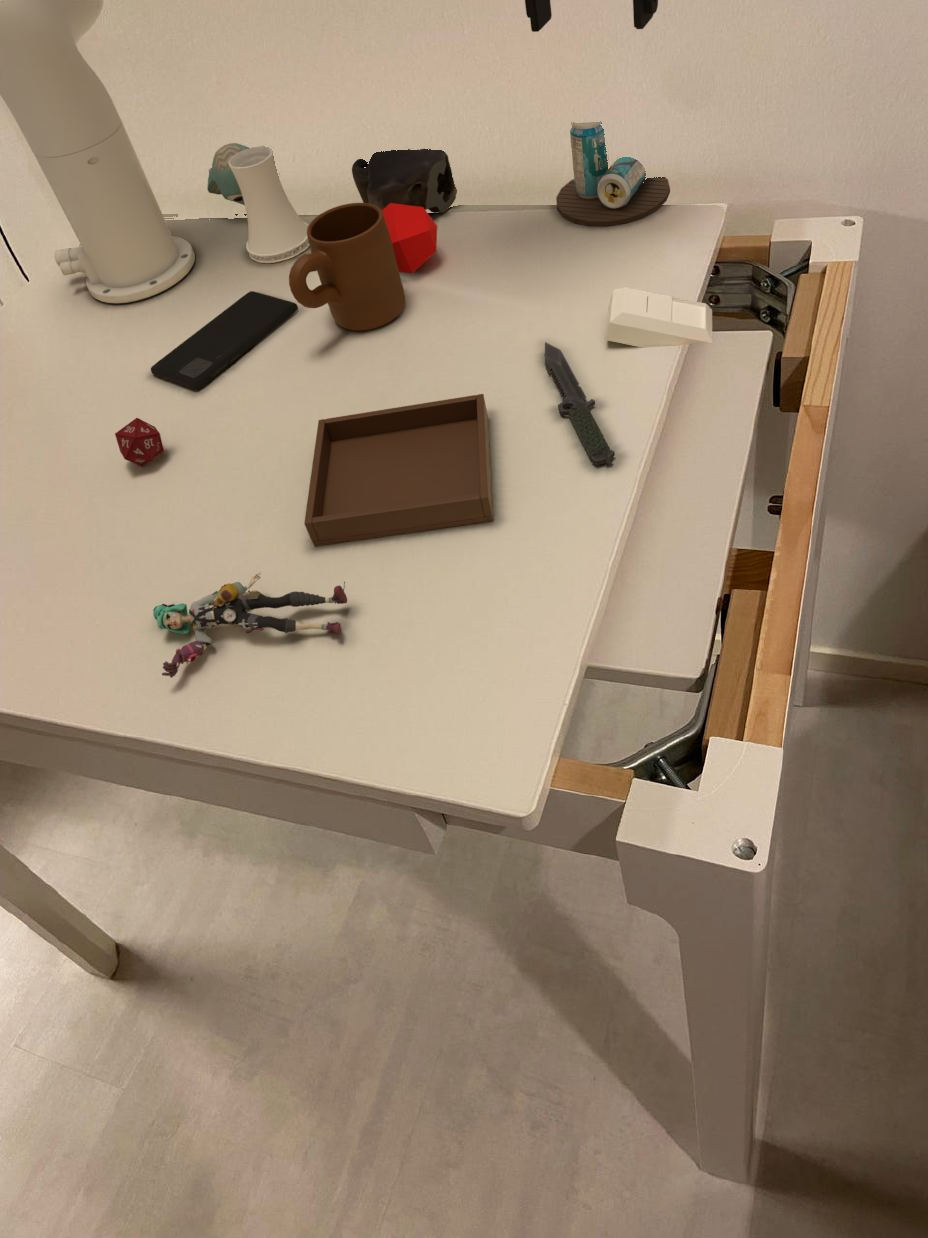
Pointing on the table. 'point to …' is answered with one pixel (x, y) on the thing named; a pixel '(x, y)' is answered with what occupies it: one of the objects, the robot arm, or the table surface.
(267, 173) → the vase
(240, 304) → the smartphone
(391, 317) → the mug
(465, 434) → the tray
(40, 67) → the robot arm
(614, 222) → the blue cans and disc
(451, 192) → the sculpture
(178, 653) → the figurine
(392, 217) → the red faceted polyhedron
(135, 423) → the dice
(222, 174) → the stuffed animal
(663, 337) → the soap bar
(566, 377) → the knife
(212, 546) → the table surface
